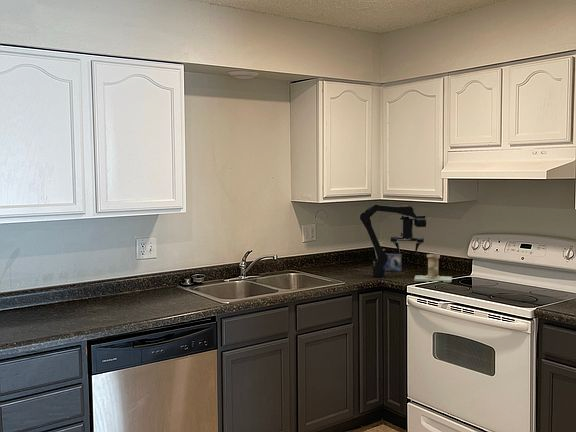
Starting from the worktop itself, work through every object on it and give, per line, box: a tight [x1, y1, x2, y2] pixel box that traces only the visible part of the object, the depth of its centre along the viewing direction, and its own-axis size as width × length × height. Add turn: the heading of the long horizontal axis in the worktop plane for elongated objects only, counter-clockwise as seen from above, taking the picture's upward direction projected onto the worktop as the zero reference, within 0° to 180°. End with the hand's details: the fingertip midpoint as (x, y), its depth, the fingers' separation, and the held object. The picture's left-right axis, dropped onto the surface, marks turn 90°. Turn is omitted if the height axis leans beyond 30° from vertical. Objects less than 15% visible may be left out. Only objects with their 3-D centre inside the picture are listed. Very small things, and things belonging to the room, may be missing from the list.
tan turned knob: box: [425, 253, 441, 279], centre depth 337 cm, size 7×7×13 cm
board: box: [414, 274, 453, 283], centre depth 338 cm, size 20×12×1 cm, turn 74°
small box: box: [384, 252, 403, 273], centre depth 368 cm, size 11×6×10 cm, turn 76°
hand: (407, 254), depth 347 cm, fingers open, 9 cm apart
